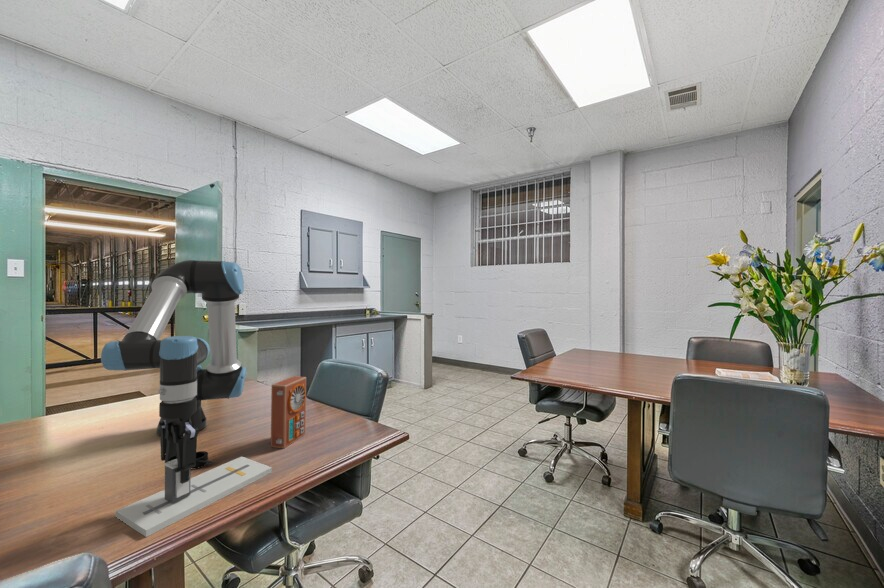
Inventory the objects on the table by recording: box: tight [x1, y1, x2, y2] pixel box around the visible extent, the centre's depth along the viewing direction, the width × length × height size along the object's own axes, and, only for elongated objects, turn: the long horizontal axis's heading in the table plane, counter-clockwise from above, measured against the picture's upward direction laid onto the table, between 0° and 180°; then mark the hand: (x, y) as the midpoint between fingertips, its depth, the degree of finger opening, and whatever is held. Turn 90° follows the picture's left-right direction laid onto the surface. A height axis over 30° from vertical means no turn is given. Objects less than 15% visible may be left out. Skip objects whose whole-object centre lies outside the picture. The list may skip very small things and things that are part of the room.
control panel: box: [270, 375, 307, 449], centre depth 127 cm, size 21×7×15 cm
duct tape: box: [192, 450, 216, 469], centre depth 109 cm, size 8×10×3 cm
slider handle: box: [164, 459, 192, 503], centre depth 89 cm, size 4×4×9 cm
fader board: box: [115, 456, 273, 538], centre depth 94 cm, size 14×31×2 cm, turn 153°
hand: (177, 491), depth 89 cm, fingers closed on slider handle, 3 cm apart
